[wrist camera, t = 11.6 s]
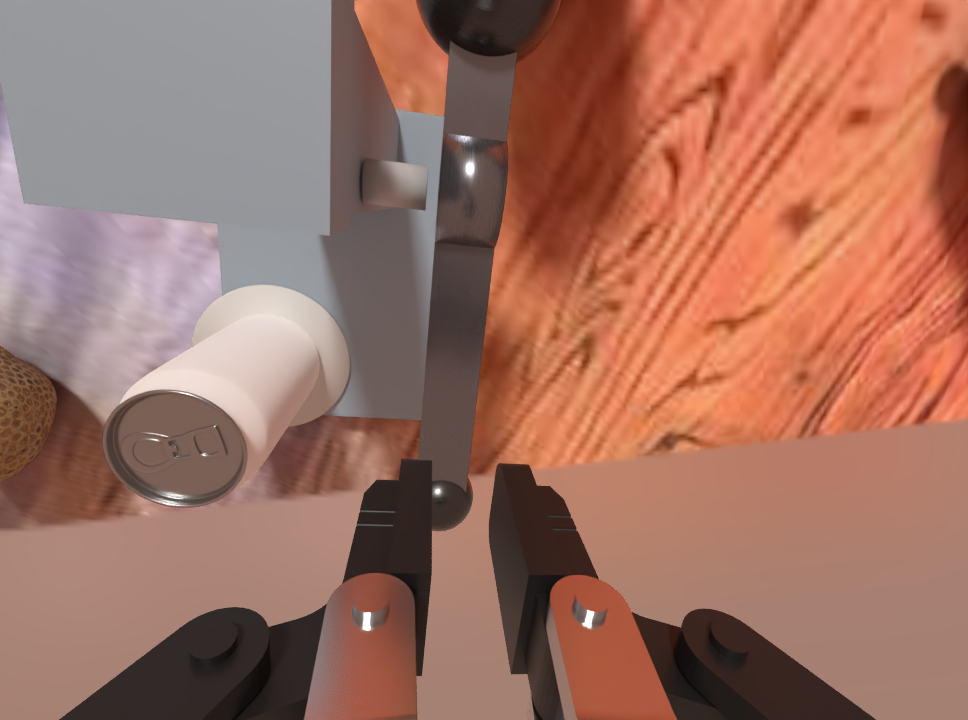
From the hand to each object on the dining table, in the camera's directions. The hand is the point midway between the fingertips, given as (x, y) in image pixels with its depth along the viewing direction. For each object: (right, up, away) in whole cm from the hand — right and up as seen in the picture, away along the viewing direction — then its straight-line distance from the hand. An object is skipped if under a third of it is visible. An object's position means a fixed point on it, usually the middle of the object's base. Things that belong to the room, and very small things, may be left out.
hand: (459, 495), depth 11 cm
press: (-9, +9, +20) cm, 24 cm away
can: (-14, +3, +20) cm, 24 cm away
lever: (-1, +7, +7) cm, 10 cm away
